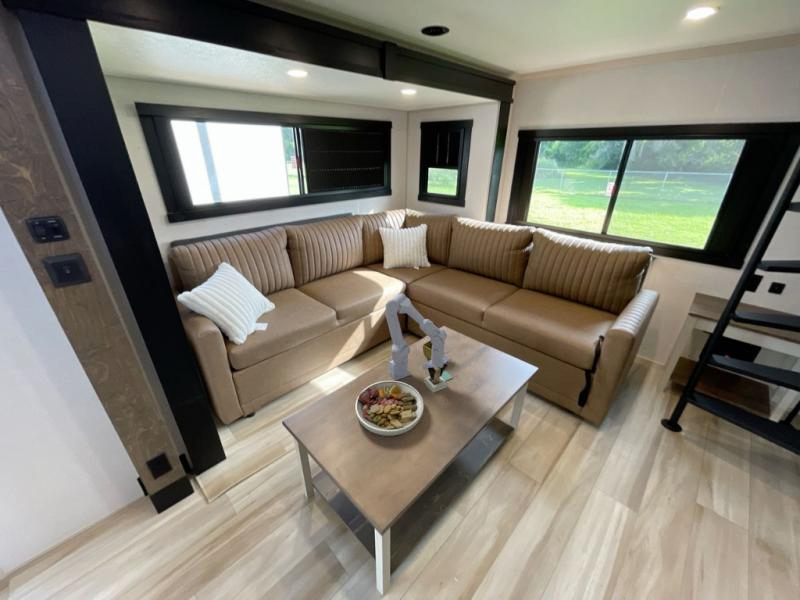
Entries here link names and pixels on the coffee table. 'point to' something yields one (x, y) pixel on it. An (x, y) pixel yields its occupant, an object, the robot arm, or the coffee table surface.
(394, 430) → the bowl
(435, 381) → the dowel
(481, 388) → the coffee table surface
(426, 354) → the flower pot
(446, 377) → the pad
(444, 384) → the socket block
